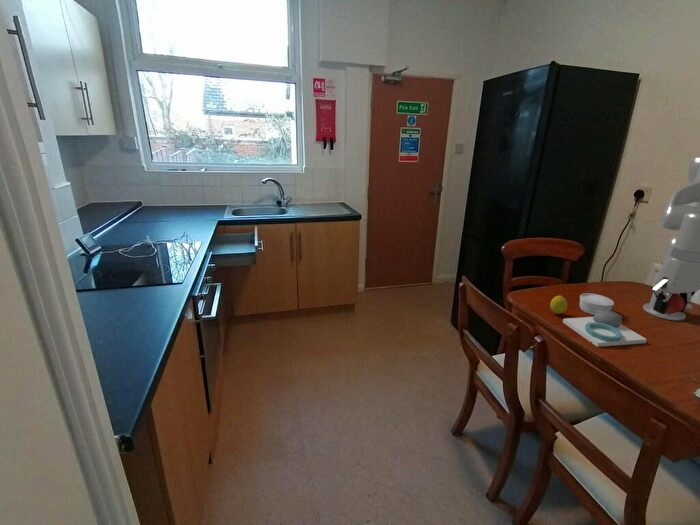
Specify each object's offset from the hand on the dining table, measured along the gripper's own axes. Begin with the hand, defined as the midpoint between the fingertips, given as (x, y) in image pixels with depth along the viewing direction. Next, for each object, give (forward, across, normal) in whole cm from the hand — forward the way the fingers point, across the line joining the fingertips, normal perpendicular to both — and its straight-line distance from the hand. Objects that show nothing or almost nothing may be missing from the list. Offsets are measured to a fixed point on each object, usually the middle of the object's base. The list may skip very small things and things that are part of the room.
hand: (668, 310), depth 104 cm
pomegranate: (+1, 0, 0) cm, 1 cm away
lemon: (+16, +12, -28) cm, 34 cm away
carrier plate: (+15, +6, -13) cm, 21 cm away
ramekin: (+16, -4, -28) cm, 33 cm away
